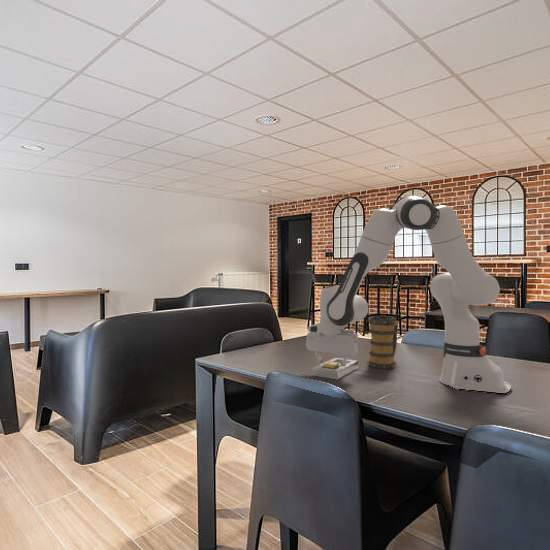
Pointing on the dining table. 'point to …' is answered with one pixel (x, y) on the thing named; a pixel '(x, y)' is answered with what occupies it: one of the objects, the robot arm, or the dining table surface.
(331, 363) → the yellow cube
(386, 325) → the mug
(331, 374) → the white flat tray
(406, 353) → the dining table surface
